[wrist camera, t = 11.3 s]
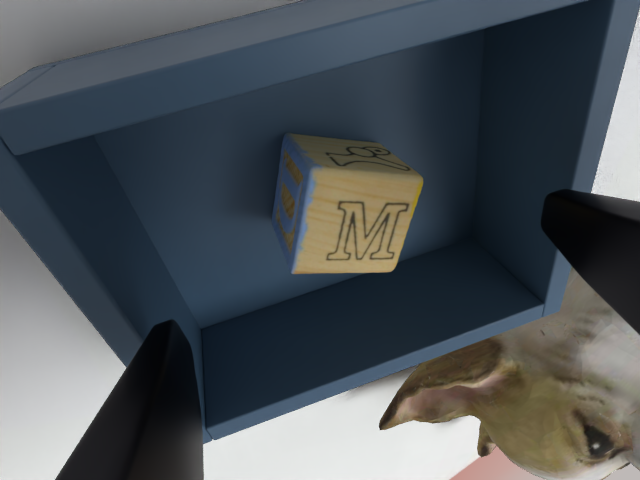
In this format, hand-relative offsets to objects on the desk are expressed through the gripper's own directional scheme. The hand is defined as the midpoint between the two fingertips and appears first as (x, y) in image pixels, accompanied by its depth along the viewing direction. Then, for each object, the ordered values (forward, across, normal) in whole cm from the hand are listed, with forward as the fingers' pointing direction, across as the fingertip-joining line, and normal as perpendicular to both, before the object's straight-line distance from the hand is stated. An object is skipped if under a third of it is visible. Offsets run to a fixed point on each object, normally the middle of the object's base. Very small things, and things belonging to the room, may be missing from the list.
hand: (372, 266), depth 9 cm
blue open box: (+5, 0, 0) cm, 5 cm away
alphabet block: (+5, 0, 0) cm, 5 cm away
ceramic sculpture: (+5, -9, +12) cm, 15 cm away
